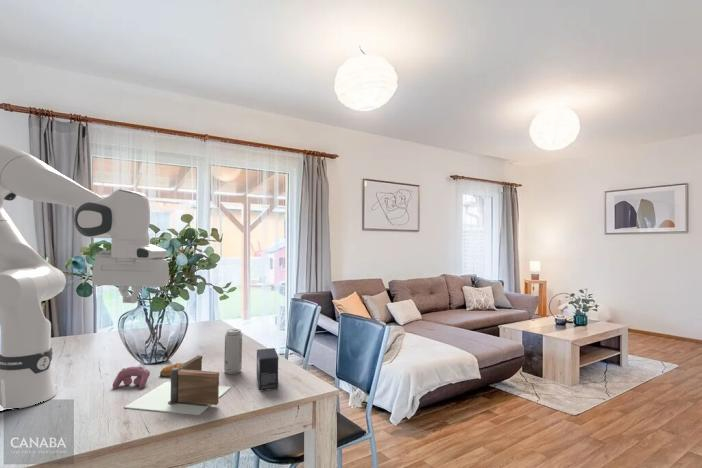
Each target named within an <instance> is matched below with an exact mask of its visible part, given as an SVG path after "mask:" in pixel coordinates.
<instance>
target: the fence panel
mask: <svg viewBox="0 0 702 468" xmlns="http://www.w3.org/2000/svg"><path fill="white" fill-rule="evenodd" d="M219 383H220V372H219V371H212V370H211V371H208V370H202V371H199V370H185V369H181V370H179V371H178V402H186V403H198V404H209V405H211V406H217V405H218V404H219V399H220V398H219V386H220V384H219ZM218 398H219V399H218Z"/></svg>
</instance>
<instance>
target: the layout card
mask: <svg viewBox="0 0 702 468" xmlns="http://www.w3.org/2000/svg"><path fill="white" fill-rule="evenodd" d="M230 389H232V386H226V385H225V386H223V385H219V398H218V400H219V399H220V398H221V397H223V396H224V394H226V393H227V392H228V391H229V390H230ZM170 401H171V381H165V382H164V383H161V384H160V385H159V386H157V387H155V388H154V389H152V390H150V391H149V392H147V393H145V394H144V395H142V396H140V397H139V398H137V399H135V400H133V401H132V402H130V403H129V404H127V405H125V406H123V408H124V409H129V410H130V409H131V410H141V411H150V412H159V413H160V412H162V413H170V414H171V413H173V414H183V415H192V416H200V415H201V414H202V413H204V412H205V411H206V410H207V409H208V408H210V407H211V406H212V405H209V404H198V403H186V402H177V403H170Z"/></svg>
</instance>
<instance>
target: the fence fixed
mask: <svg viewBox="0 0 702 468" xmlns="http://www.w3.org/2000/svg"><path fill="white" fill-rule="evenodd" d="M202 361H203V355H196V356H195V357H193V358H191V359H189V360H188V361H185V362H183V363H184V364H182V365H180V366H178V367H177V368H173V369H171V376H170V382H171V401H170V403H177V402H178V371H179V370H181V369H185V370H199V371H203V370H202V367H203V365H202V364H203V362H202Z"/></svg>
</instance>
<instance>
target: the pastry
mask: <svg viewBox="0 0 702 468" xmlns="http://www.w3.org/2000/svg"><path fill="white" fill-rule="evenodd" d="M184 363H185V362H175V364H174V363H173V364H171V365H168V366H167V367H164V368H162V369H161V370H160V372H159V373H160V376H161V377H167V378H168V377H170V378H171V369H173V368H177V367H178V366H180V365H182V364H184Z"/></svg>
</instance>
